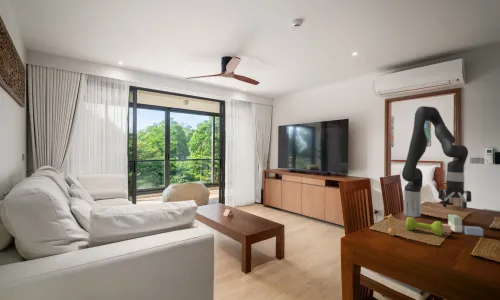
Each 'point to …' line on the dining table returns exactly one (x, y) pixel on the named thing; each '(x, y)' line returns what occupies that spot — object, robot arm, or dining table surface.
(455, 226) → the cream brick
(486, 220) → the dining table surface
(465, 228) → the slate brick
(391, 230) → the figurine
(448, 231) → the terracotta brick
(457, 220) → the sage brick
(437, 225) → the dumbbell
